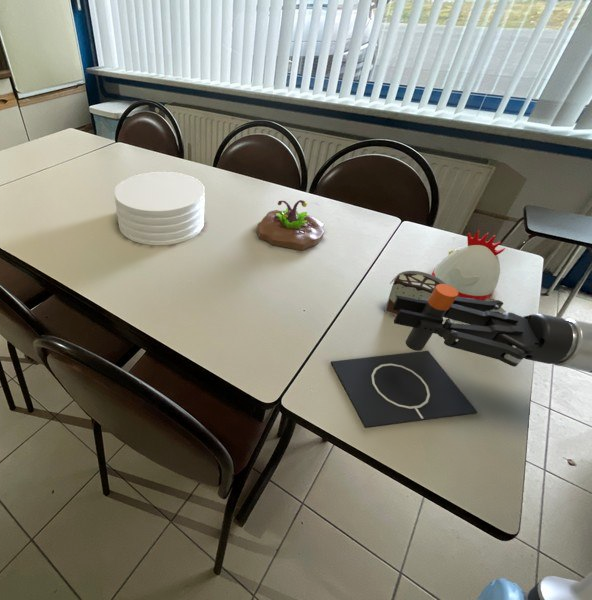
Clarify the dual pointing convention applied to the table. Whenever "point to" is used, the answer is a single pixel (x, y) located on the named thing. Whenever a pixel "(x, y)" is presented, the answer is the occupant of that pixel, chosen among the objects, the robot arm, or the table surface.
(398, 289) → the food container
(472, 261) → the kitchen timer
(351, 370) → the desk mat
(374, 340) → the table surface
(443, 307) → the marker
